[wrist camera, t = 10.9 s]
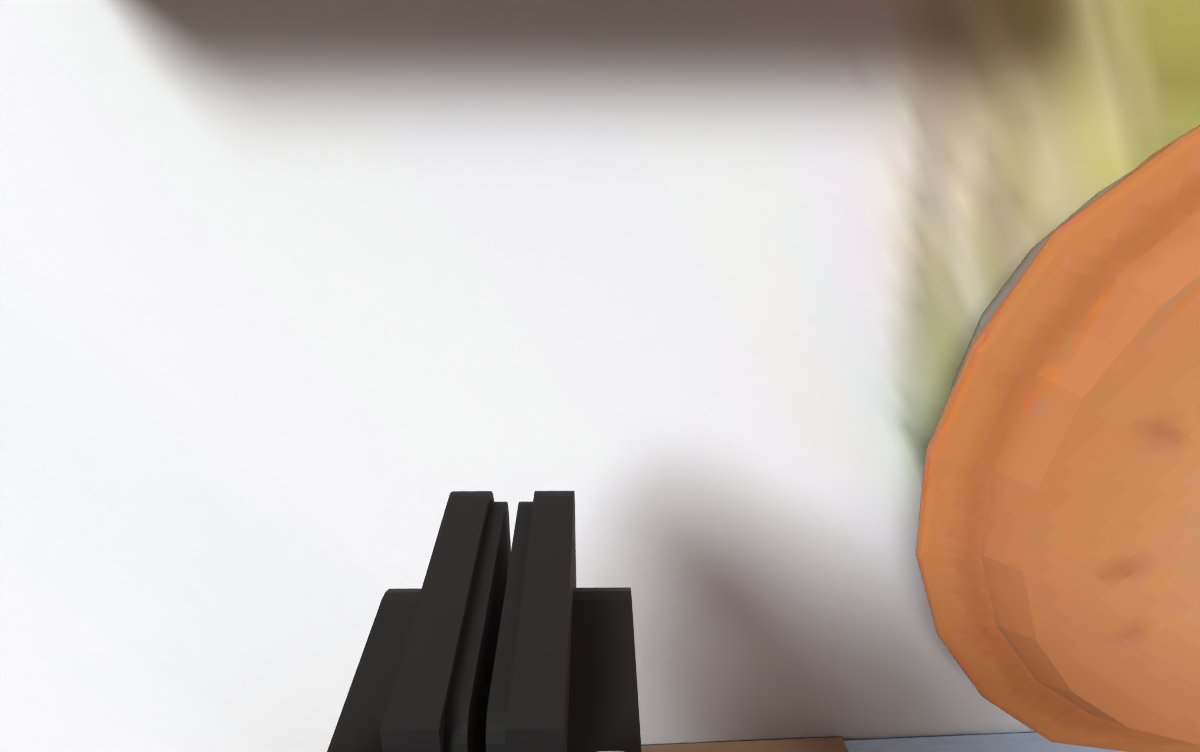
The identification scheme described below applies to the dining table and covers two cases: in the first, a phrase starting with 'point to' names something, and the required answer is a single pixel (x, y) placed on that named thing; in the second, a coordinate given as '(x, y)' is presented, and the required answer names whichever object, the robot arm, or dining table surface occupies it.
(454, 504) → the robot arm
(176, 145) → the dining table surface
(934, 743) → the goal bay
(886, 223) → the dining table surface
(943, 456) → the pie
